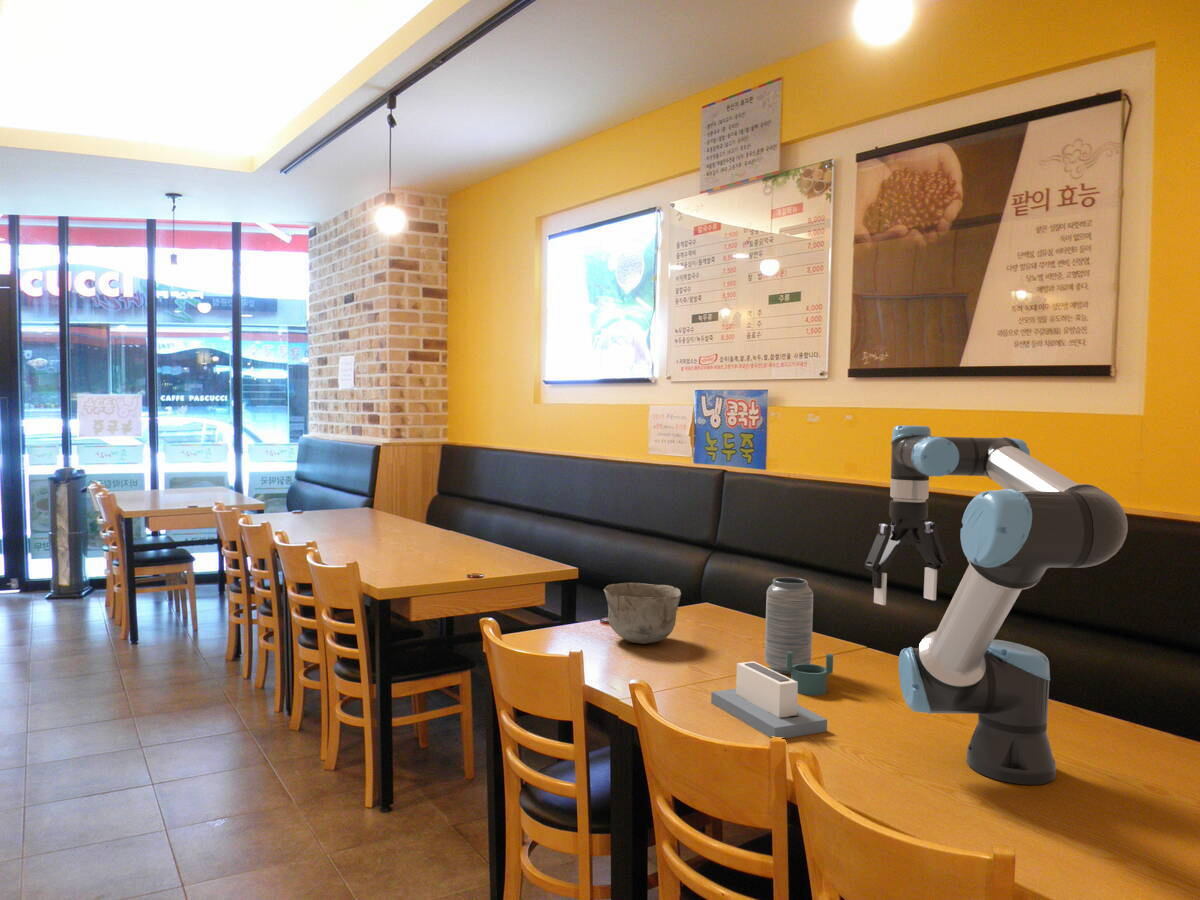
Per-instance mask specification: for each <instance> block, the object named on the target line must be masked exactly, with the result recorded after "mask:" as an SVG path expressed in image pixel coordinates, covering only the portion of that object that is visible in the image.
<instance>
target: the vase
mask: <svg viewBox="0 0 1200 900" xmlns="http://www.w3.org/2000/svg"><path fill="white" fill-rule="evenodd" d="M813 611H814V592H813V589H812V588H810V586H809V582H808V581H807V580H806V579H803V578H798V577H789V576H786V577H785V576H781V577H780V576H779V577H775V578H773V579H772V584H770V585H769V586H768V588H767V590H766V602H765V634H764V635H765V640H764V659H765V662H766V664H767V665H768V666H769V669H771V670H773V671H775V672H777V673H780V674H782V675H791V674H792V672H790V671H788V670H787V668H786V661H787V651H790V652H793V659H792V666H793V665H796V664H812V651H813V649H812V646H813V645H812V644H813V615H814V614H813V613H814V612H813Z"/></svg>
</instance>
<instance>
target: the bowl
mask: <svg viewBox="0 0 1200 900" xmlns="http://www.w3.org/2000/svg"><path fill="white" fill-rule="evenodd" d="M603 592H604V595H605V597H606V601H607V602H606V603H607V609H608V615H607V620H608V624H609V626H610V628H611V629H612V631H614V633H615V634H617V635H618V636H619V637H620V638H622V639H623V640H625V641H627V642H630V643H634V644H640V645H647V644H653V643H656V642H660V641H663V640H664V639H666V638H668V636H670V635H671V633H672V632H673V630H674V628H675V625H676V622H677V611H678V610H679V603H680V599H681V595H682V592H681V589H679V587H675V586H672V585H668V584H651V583H642V582H620V583H612V584H608V585H607V586H605V587H604V588H603Z"/></svg>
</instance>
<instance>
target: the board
mask: <svg viewBox="0 0 1200 900" xmlns="http://www.w3.org/2000/svg"><path fill="white" fill-rule="evenodd" d="M710 695H711V700H710V701H711V704H713V705H714V706H716V707H717V708H719V709H721V710H723V711H724V712H726V713H728V714H729V715H731V716H733V717H735V718H736V719H738V720H740V721H741V722H743V723H745V724H747V726H750V727H751V728H753V729H754V730H757V731H759V732H760V733H762V734H764V735H765V736H766V737H768V738H770V737H771V736H775V737H785V739H790V738H795V737H801V736H802V737H803V736H808V735H814V734H819V733H826V732H827V731H828V719H827V718H824V717H823V716H822V715H819V714H818V713H815V712H813V711H811V710H810V709H808V708H805V707H803V706H801V705H799V704H798V703H797V715H794V716H789V718H786V719H780V718H778V717H776V716H775V715H773V714H771V713H769V712H767V711H765V710H764V709H762V708H760V707H758V706H756V705H755V704H753V703H751V702H749V701H747V700H745V699H743V698H742V697H740V696H738V695H736V688H730V689H723V690H716V691H715V690H714V691H711V694H710Z"/></svg>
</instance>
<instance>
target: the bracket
mask: <svg viewBox="0 0 1200 900" xmlns="http://www.w3.org/2000/svg"><path fill="white" fill-rule="evenodd" d="M792 659H793V652H790V651H787V661H786V668H787V670H788V671H790V672H792V674H790V675H791V678H790V679H792V680H795V681H797V682H798V693H797V694H799V695H805V696H812V697H813V696H815V697H816V696H822V695H825V694H826V693H827V691H828V690H827V688H828V685H827V682H828V675H830V674H833V673H834V672H833V671H834V654H832V653H826V654H825V666H823V665H818V664H814V663H813V664H812V663H810V664H796V665H793V666H792Z"/></svg>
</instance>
